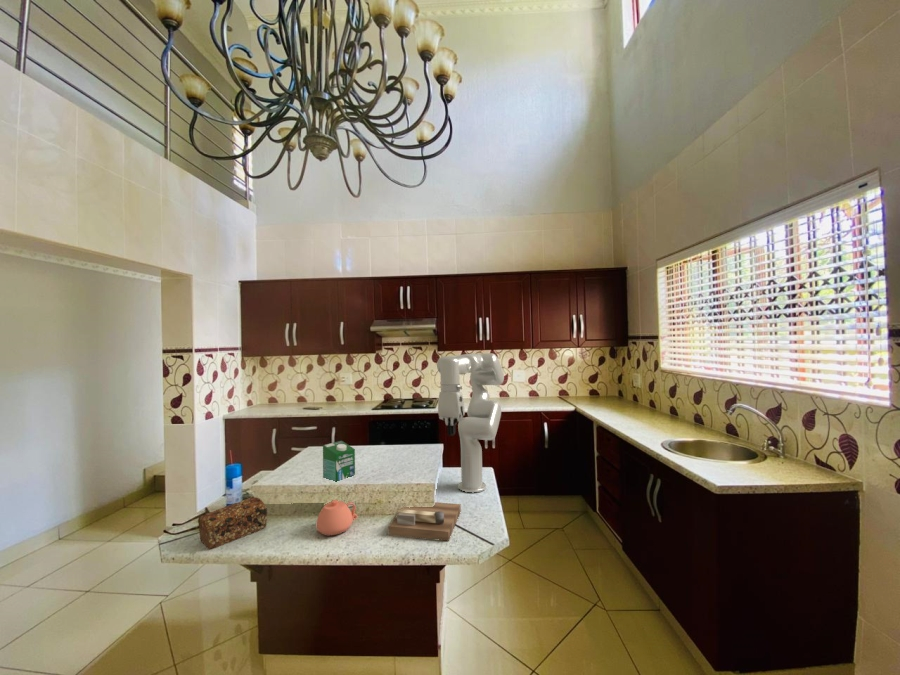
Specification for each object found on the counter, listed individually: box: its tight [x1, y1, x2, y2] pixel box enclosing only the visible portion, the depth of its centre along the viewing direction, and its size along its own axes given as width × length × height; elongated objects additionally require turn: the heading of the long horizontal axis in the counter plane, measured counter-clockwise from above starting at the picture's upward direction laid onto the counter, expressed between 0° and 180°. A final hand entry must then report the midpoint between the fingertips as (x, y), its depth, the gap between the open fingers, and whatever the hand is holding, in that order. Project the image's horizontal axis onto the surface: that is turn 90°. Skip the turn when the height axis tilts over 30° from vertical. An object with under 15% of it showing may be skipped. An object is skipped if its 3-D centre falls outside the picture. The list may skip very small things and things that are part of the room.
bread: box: [198, 496, 268, 550], centre depth 123 cm, size 19×11×10 cm, turn 140°
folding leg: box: [396, 508, 444, 524], centre depth 124 cm, size 17×3×3 cm, turn 77°
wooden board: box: [387, 501, 462, 542], centre depth 128 cm, size 21×21×6 cm
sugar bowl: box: [315, 500, 358, 536], centre depth 125 cm, size 12×14×10 cm
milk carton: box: [322, 440, 356, 482], centre depth 144 cm, size 9×9×25 cm
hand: (451, 434), depth 140 cm, fingers closed
